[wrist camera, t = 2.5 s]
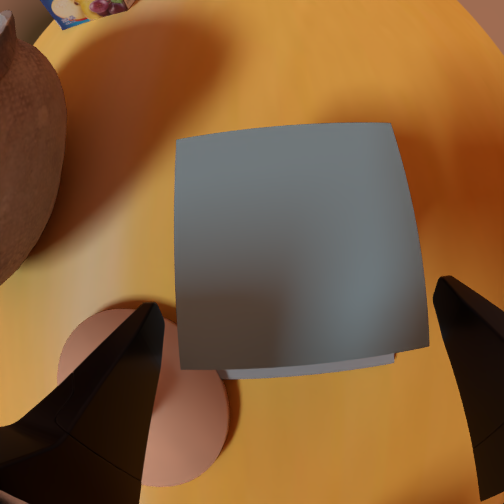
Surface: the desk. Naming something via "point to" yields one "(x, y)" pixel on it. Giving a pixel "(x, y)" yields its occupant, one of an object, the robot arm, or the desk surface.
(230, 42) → the desk surface
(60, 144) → the ceramic bowl
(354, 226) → the grey blue block
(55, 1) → the juice carton
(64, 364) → the saucer
